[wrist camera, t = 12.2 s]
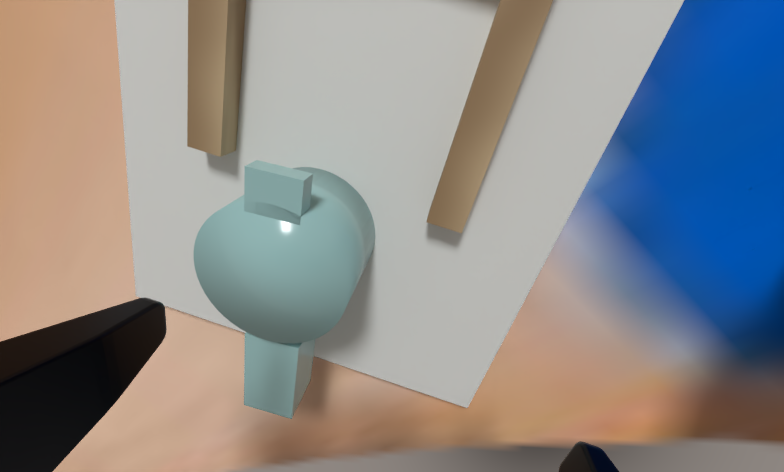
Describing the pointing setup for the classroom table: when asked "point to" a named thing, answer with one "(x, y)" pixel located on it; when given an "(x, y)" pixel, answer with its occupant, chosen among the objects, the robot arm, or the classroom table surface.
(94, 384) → the robot arm
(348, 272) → the teal dome with tabs
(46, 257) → the classroom table surface
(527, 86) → the board
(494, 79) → the cradle
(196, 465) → the classroom table surface
